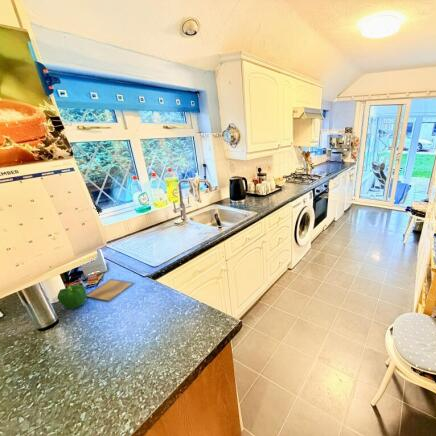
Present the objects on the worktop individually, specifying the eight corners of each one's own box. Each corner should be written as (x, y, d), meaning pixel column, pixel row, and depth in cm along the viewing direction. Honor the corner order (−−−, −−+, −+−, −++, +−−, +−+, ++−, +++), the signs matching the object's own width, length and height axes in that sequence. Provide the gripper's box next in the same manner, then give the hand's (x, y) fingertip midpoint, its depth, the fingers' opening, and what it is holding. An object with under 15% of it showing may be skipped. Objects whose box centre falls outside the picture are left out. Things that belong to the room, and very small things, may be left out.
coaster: (86, 296, 102) (85, 296, 102) (111, 280, 113) (110, 279, 113) (108, 301, 100) (108, 300, 100) (132, 284, 111) (131, 283, 111)
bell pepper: (66, 301, 99) (58, 282, 96) (90, 296, 103) (83, 276, 99) (59, 315, 92) (50, 294, 89) (85, 308, 96) (78, 288, 92)
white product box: (106, 263, 127) (98, 238, 121) (107, 271, 120) (99, 245, 115) (84, 269, 121) (75, 243, 116) (84, 277, 115) (74, 251, 109)
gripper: (33, 193, 112) (44, 231, 107) (99, 185, 128) (111, 218, 123) (38, 201, 117) (49, 238, 113) (100, 192, 133) (112, 224, 129)
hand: (81, 227), depth 118 cm, fingers open, 13 cm apart
